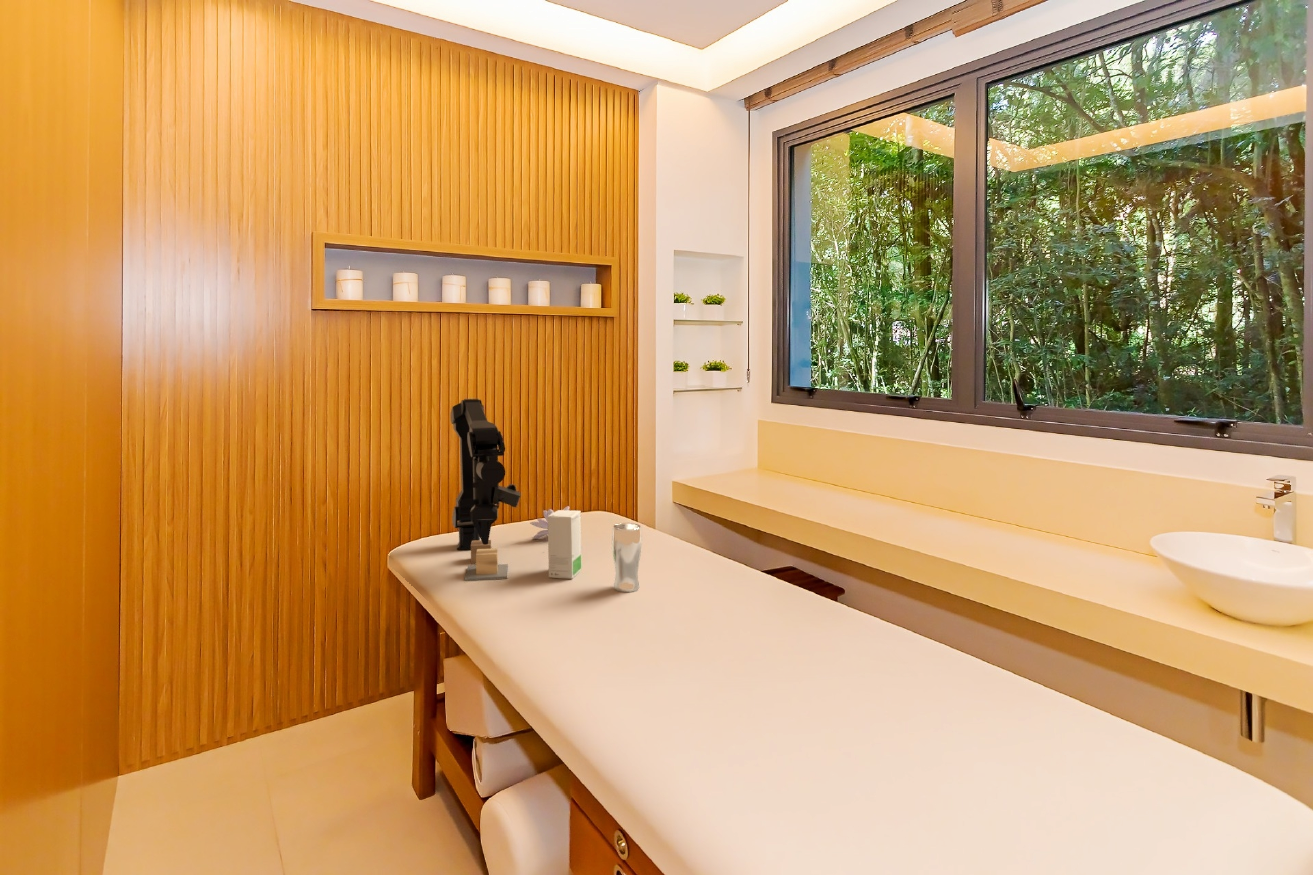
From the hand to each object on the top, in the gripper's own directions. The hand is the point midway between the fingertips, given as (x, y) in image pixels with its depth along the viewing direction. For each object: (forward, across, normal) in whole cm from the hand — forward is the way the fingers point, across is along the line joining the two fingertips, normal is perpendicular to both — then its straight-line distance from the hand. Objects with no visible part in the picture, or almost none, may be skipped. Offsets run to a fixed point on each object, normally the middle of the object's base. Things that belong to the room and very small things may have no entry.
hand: (486, 539), depth 180 cm
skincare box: (+9, -3, -19) cm, 21 cm away
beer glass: (+9, -16, -33) cm, 38 cm away
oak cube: (+8, 0, 0) cm, 8 cm away
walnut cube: (+9, +11, +2) cm, 15 cm away
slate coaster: (+9, 0, 0) cm, 9 cm away
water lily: (+9, +30, -18) cm, 36 cm away
